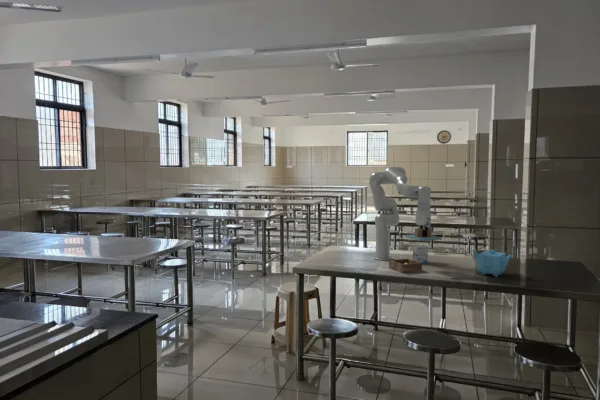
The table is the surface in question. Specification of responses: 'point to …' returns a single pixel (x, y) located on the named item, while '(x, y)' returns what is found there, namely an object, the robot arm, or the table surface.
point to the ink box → (420, 254)
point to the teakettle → (491, 262)
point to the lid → (419, 236)
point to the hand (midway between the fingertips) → (423, 235)
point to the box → (405, 265)
